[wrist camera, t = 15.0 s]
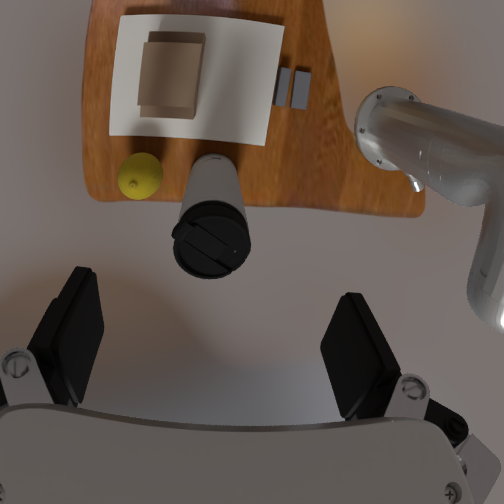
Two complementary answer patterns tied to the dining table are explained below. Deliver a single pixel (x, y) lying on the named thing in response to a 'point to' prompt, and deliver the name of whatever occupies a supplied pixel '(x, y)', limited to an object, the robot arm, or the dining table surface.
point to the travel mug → (212, 220)
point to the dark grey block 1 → (282, 87)
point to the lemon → (140, 175)
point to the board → (202, 78)
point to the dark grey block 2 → (300, 90)
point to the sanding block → (171, 74)
